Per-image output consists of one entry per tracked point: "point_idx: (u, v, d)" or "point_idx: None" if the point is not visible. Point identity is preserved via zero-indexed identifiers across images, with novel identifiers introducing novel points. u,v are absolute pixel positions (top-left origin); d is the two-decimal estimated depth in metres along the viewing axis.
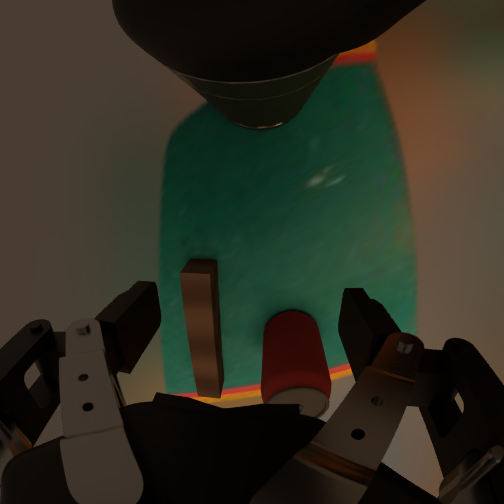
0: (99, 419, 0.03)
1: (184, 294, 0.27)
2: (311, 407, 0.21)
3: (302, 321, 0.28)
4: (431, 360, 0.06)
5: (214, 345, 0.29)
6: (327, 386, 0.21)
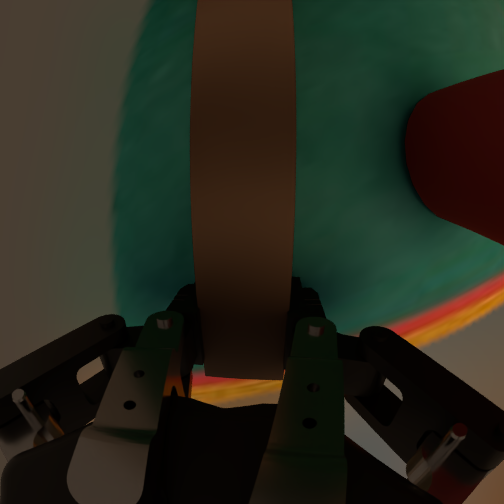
0: (134, 421, 0.04)
1: None
2: None
3: None
4: (347, 346, 0.07)
5: (293, 109, 0.07)
6: None
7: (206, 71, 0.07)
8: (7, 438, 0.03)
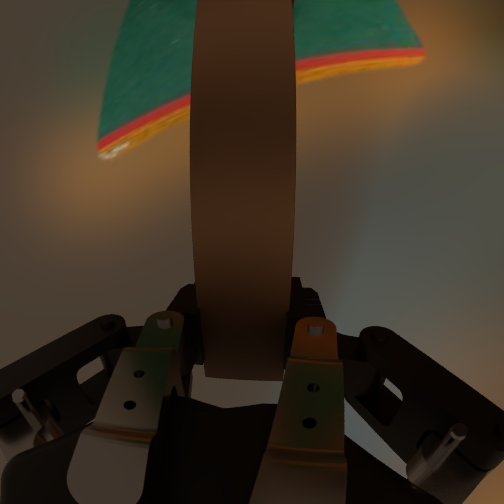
0: (134, 421, 0.04)
1: None
2: None
3: None
4: (347, 346, 0.07)
5: (293, 110, 0.07)
6: None
7: (206, 72, 0.07)
8: (7, 438, 0.03)
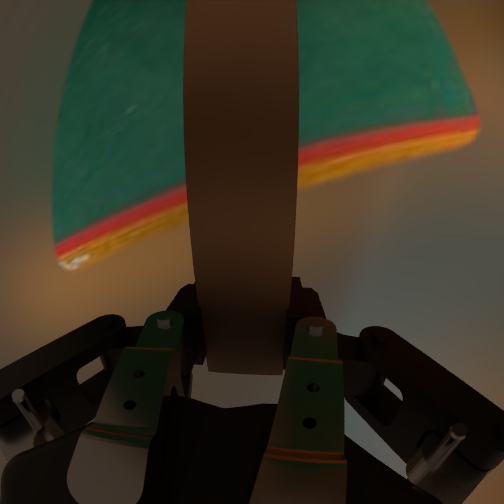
0: (134, 421, 0.04)
1: None
2: None
3: None
4: (347, 346, 0.07)
5: (295, 115, 0.06)
6: None
7: (199, 72, 0.06)
8: (7, 438, 0.03)
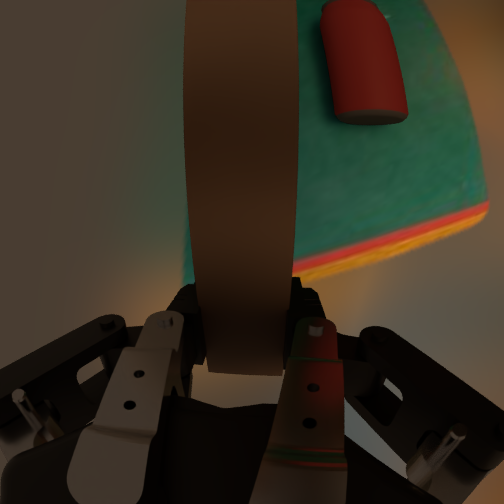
0: (134, 421, 0.04)
1: None
2: None
3: None
4: (347, 346, 0.07)
5: (295, 116, 0.06)
6: None
7: (199, 73, 0.06)
8: (7, 438, 0.03)
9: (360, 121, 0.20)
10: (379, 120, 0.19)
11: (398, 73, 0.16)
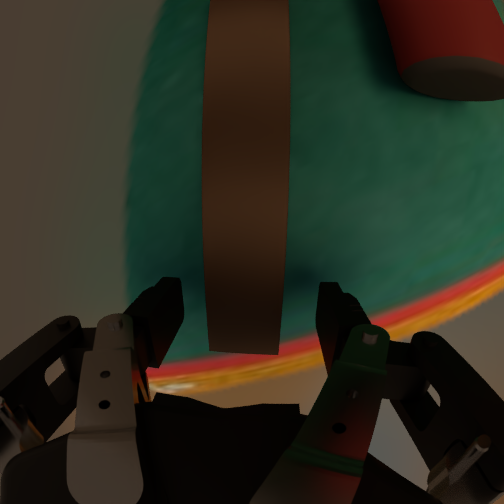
0: (113, 418, 0.04)
1: None
2: None
3: None
4: (398, 352, 0.07)
5: (287, 120, 0.08)
6: None
7: (216, 87, 0.08)
8: None
9: (443, 87, 0.08)
10: (476, 89, 0.07)
11: (499, 16, 0.04)
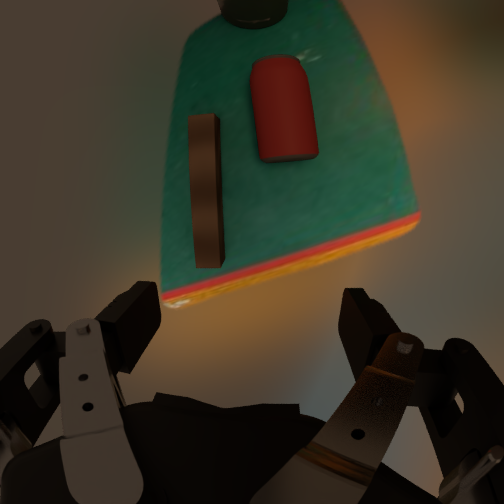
0: (99, 419, 0.03)
1: (190, 135, 0.28)
2: None
3: None
4: (431, 360, 0.06)
5: (215, 188, 0.30)
6: None
7: (193, 178, 0.30)
8: None
9: (280, 161, 0.29)
10: None
11: (306, 120, 0.25)
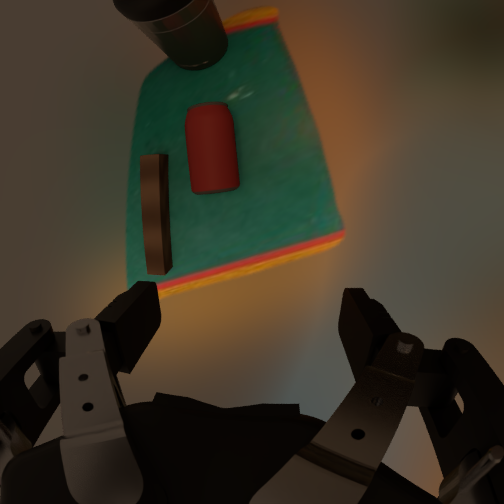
0: (99, 419, 0.03)
1: (141, 171, 0.36)
2: None
3: None
4: (431, 360, 0.06)
5: (160, 214, 0.37)
6: None
7: (144, 206, 0.37)
8: None
9: None
10: None
11: (224, 160, 0.33)
